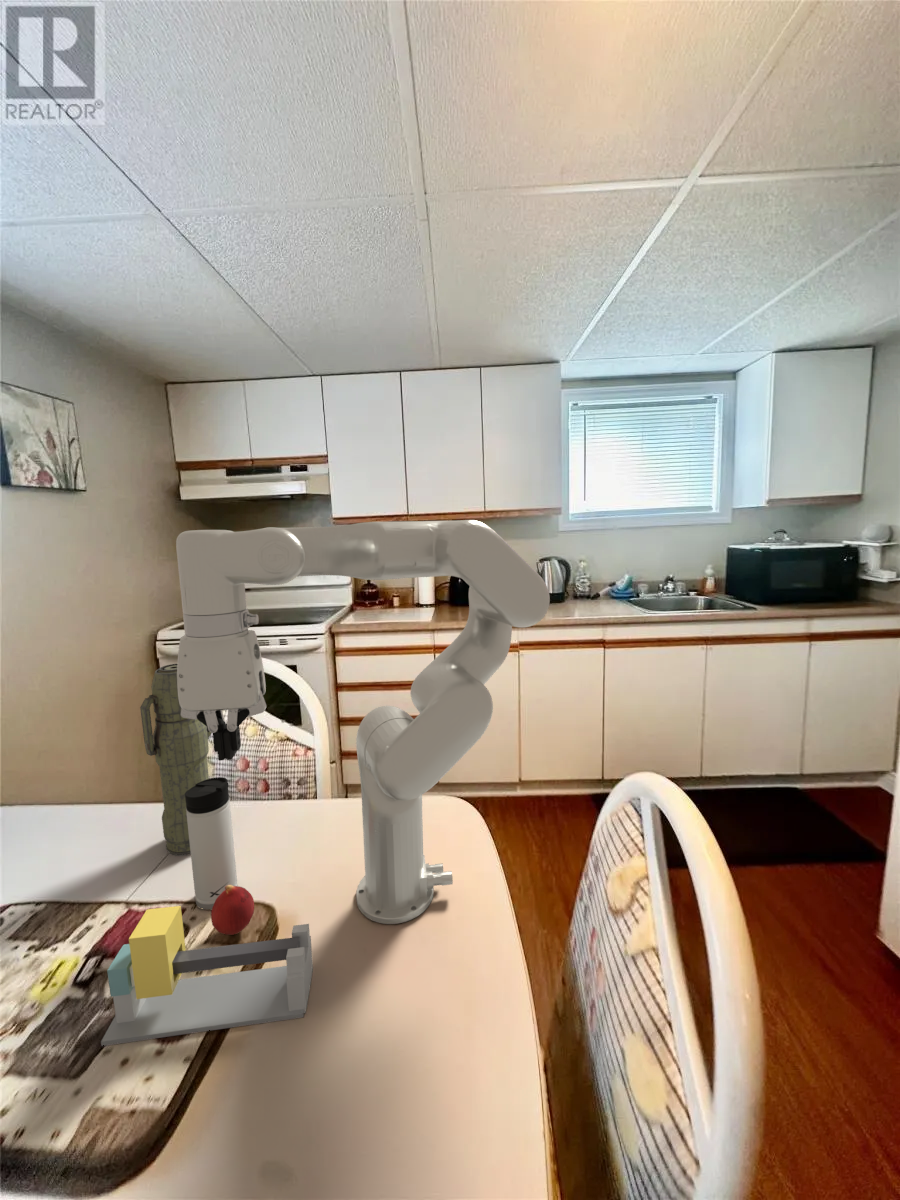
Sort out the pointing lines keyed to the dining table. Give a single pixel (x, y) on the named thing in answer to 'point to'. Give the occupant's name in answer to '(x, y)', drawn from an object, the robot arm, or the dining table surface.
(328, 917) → the dining table surface
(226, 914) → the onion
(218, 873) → the travel mug
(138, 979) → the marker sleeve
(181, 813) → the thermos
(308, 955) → the grey long frame
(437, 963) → the dining table surface
